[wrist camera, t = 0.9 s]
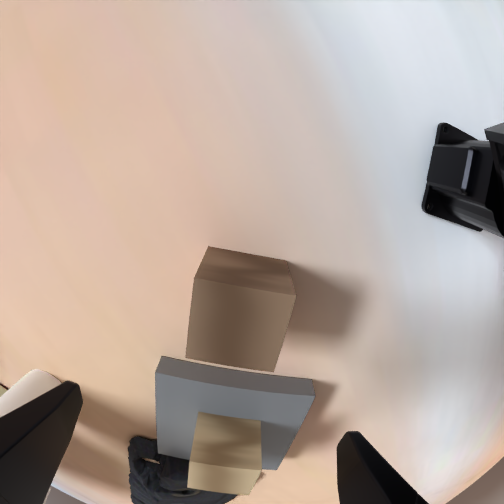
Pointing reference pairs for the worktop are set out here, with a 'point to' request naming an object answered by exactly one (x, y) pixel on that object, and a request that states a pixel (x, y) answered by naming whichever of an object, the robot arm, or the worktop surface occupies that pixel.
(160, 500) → the dark slate chunk
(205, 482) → the oak block
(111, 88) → the worktop surface
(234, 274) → the walnut block
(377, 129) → the worktop surface
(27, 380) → the foam cup
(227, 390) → the base
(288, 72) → the worktop surface
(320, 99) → the worktop surface
